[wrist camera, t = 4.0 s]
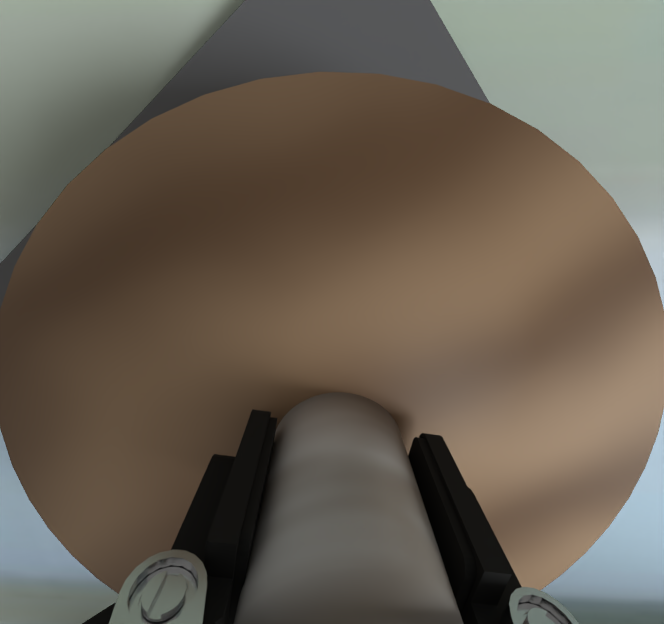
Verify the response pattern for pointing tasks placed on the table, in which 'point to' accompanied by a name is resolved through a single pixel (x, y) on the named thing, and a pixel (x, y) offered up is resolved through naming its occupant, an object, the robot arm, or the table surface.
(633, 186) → the table surface
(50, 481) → the lid
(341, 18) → the mat
